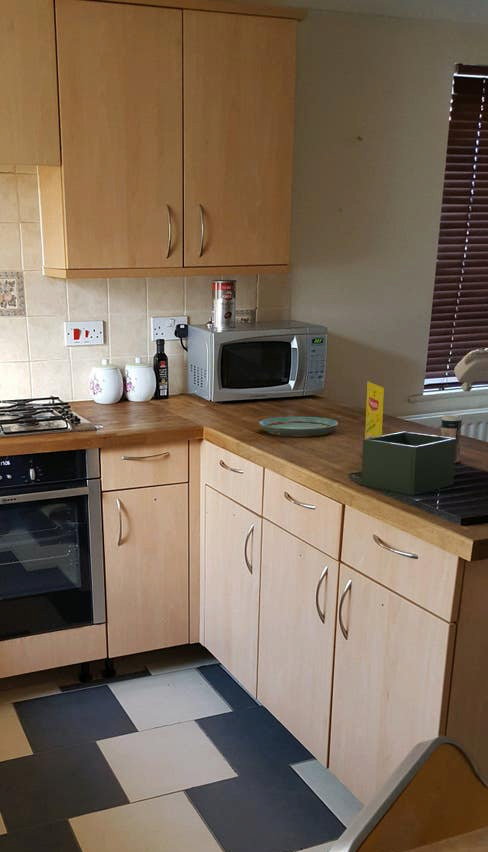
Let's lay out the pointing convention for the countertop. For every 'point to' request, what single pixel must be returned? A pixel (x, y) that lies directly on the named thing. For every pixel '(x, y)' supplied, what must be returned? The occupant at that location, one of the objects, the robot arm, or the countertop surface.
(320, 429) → the saucer
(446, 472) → the waste bin
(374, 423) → the food package
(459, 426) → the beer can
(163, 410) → the countertop surface
